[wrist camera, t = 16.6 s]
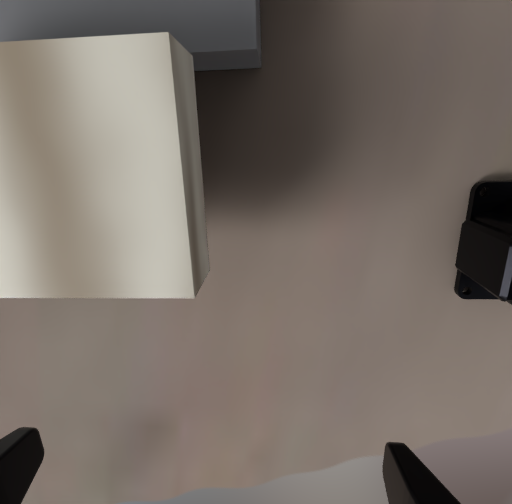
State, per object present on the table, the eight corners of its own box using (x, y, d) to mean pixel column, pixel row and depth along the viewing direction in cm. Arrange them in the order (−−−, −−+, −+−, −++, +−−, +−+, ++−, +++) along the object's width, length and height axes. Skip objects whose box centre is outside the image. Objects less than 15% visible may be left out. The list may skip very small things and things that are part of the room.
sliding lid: (192, 55, 13) (168, 32, 10) (209, 270, 16) (194, 298, 13) (-23, 67, 14) (-101, 48, 11) (30, 271, 17) (-21, 297, 14)
